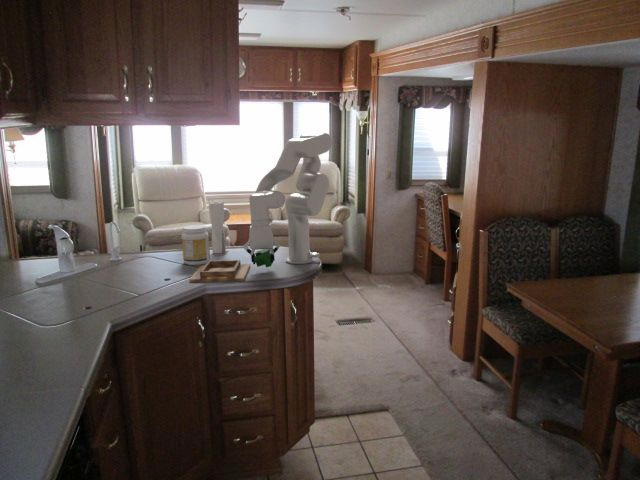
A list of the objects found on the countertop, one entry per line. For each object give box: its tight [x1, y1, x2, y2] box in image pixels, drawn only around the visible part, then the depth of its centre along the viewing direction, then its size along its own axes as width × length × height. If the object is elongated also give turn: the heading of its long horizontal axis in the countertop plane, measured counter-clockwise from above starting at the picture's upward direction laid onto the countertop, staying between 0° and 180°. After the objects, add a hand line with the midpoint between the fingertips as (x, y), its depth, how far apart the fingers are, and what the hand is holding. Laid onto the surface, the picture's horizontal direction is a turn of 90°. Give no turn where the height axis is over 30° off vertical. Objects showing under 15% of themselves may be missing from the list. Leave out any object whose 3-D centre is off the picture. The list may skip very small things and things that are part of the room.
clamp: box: [254, 249, 273, 268], centre depth 211 cm, size 12×6×9 cm, turn 174°
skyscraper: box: [207, 197, 229, 255], centre depth 246 cm, size 8×8×28 cm
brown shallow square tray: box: [189, 259, 251, 283], centre depth 210 cm, size 22×22×4 cm
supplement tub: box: [181, 224, 211, 266], centre depth 229 cm, size 12×12×17 cm
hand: (263, 262), depth 212 cm, fingers closed on clamp, 7 cm apart
